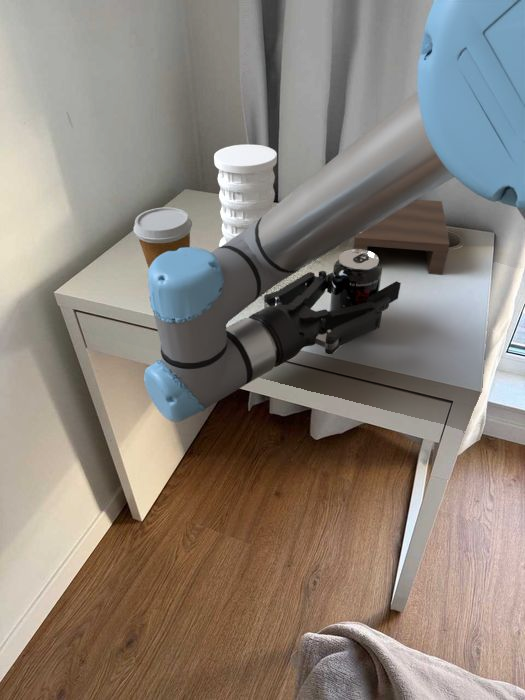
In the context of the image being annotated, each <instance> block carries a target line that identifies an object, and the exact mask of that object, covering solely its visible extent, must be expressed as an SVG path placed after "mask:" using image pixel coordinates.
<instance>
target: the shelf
mask: <svg viewBox="0 0 525 700" xmlns="http://www.w3.org/2000/svg"><path fill="white" fill-rule="evenodd" d="M353 240H354V241H353V248H352V249H362V250H367V251H368V247H373V248H385V249H386V248H387V249H388V248H389V249H399V250H400V249H401V250H412V251H413V250H415V251H425V254H426V263H427V271H428V272H427V273H428V274H429V275H440V276H442V275H443V274H444V269H445V265H446V261H447V258H448V254H449V249H450V244H451V243H450V238H449V234H448V228H447V222H446V217H445V211H444V206H443V201H442V200H427V199H417V200H415V201H413V202H412V203H410V204H408V205H407V206H405V207H403V208H402V209H400V210H398V211H397V212H395V213H393V214H392V215H390V216H388V217H387V218H385V219H383V220H382V221H380V222H378V223H376V224H375V225H373V226H371V227H370V228H368V229H366V230H365V231H363V232H361V233H360V234H358V235H356V236H355V237H354V239H353Z"/></svg>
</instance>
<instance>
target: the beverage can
mask: <svg viewBox="0 0 525 700" xmlns="http://www.w3.org/2000/svg"><path fill="white" fill-rule="evenodd" d="M379 262H380V259H379V256H378V255H377V254H376V253H374V252H372V251H370V250H368V249H367V250H362V249H353V248H352V249H347V250H345V251H342V252H341V253H340V254H339V255H338V259H337V261H335V263H334V264H333V268H332V272H333V278H332V290H331V294H330V304H329V305H330V306H329V311H333V310H337V309H341V308H346V307H350V306H354V305H358V304H363V303H366V300H367V297H369V296H371V295H373V294H375V293H376V292H378V291H380V287H381V280H382V276H383V275H382V273H383V269H382V266H381V265H380V263H379Z"/></svg>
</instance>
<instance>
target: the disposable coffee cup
mask: <svg viewBox="0 0 525 700" xmlns="http://www.w3.org/2000/svg"><path fill="white" fill-rule="evenodd" d="M192 226H193V222H192V220H191V218H190V217H189V215H188V213H187V211H185V210H183V209H180V208H179V207H171V206H170V207H166V206H165V207H164V206H163V207H157V208H155V207H154V208H151V209H148V210H145V211H143V212H141V213H139V214H138V215H137V216H136V217H135V220H134V225H133V233H134V235H135V236H136V237H137V238H138V241H139V244H140V247H141V249H142V253H143V255H144V258H145V262H146V265H147V267H148V269H149V268H150V266H151V264H152V262H153V261H154V260H155V259H156V258H157V257H158V256H160V255H161V254H163V253H165V252H167V251H176V250H178V249H179V248H185V247H191V230H192Z"/></svg>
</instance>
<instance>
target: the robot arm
mask: <svg viewBox="0 0 525 700" xmlns="http://www.w3.org/2000/svg"><path fill="white" fill-rule="evenodd" d="M416 74H417V75H416V80H417V81H416V85H417V87H416V91H414V92H413V93H412V94H411V95H409V96H408V97H407V98H405V100H403V101H402V102H401V103H399V104H398V105H397V106H396V107H394V108H393V109H392V110H391V111H389V113H387V114H386V115H385V116H384V117H382V118H381V119H380V120H379V121H378V122H376V123H375V124H373V126H371V127H370V128H369V129H368V130H366V131H365V132H364V133H363V134H361V135H360V136H359V137H358V138H357V139H355V140H354V141H353V142H351V143H350V144H349V145H348V146H347V147H346V148H344V149H343V150H342V151H340V152H339V153H338V154H337V155H336V156H334V157H333V158H332V159H331V160H330V161H328V162H327V163H326V164H325V165H323V166H322V167H321V168H319V169H318V170H317V171H316V172H314V173H313V174H312V175H311V176H310V177H309V178H307V179H306V180H305V181H304V182H302V183H301V184H300V185H298V187H296V188H294V190H293V191H292V192H291V193H289V194H288V195H287V196H285V197H284V198H283V199H282V200H281V201H279V202H278V203H277V204H276V205H274V207H273V208H272V209H271V210H270V211H268V212H267V213H266V214H265V215H263V216H262V217H261V218H259V219H258V220H257V221H255V222H254V223H253V224H252V225H251V226H249V227H248V228H247V229H246V230H244V231H243V232H242V233H240V234H239V235H237V236H236V237H234V238H233V239H231V240H230V241H228V242H227V243H225V244H224V245H222V246H221V247H216V248H215V249H213V250H211V251H209V250H207V249H204V248H199V247H193V246H192V247H191V246H190V247H185V248H179V249H178V250H176V251H167V252H165V253H163V254H161V255H160V256H158V257H157V258H156V259H155V260H154V261H153V262H152V264H151V266H150V268H149V267H148V273H147V279H148V291H149V292H148V293H149V303H150V308H151V311H152V313H153V317H154V321H155V324H156V329H157V333H158V338H159V341H160V355H161V359H160V360H159V359H158V360H155V362H154V363H153V364H150V365H149V366H148V367H147V368H145V371H144V376H143V382H144V386H145V389H146V391H147V394H148V395H149V398H150V400H151V401H152V403H153V405H154V406H155V408H156V410H158V412H159V413H160V414H161V416H162V417H163V418H165V419H166V420H167V421H170V422H173V423H179V422H183V421H185V420H187V419H189V418H191V417H192V416H195V415H197V414H199V413H200V412H205V411H206V409H208V408H209V407H211V406H212V405H214V404H216V403H218V402H219V401H221V400H223V399H224V398H226V397H228V396H229V395H232V394H233V393H235V392H237V391H238V390H239V389H241V388H243V387H245V386H246V385H248V384H249V383H251V382H254V381H255V380H257V379H258V378H260V377H262V376H263V375H265V374H267V373H269V372H270V371H272V370H273V369H274V368H276V367H279V366H281V365H283V364H285V363H286V362H288V361H289V360H291V359H293V358H295V357H296V356H297V355H298V354H299V353H300V352H301V350H303V349H304V348H306V347H312V346H314V345H318V346H320V347H322V348H324V353H325V354H327V355H333V354H334V353H336V351H337V350H339V348H341V347H342V346H345V345H346V344H348V343H350V342H353V341H354V340H357V339H359V338H361V337H363V336H365V335H368V334H369V333H372V332H374V331H376V330H378V329H379V328H381V322H382V316H383V312H384V311H386V310H387V309H389V307H390V304H391V303H393V302H395V301H397V300H398V299H399V294H400V289H401V282H399V281H398V280H397V281H394V282H392V283H390V284H389V285H387V286H385V287H384V288H381V289H379V291H378V292H376V293H375V294H373V295H371V296H369V297H367V300H366V303H363V304H358V305H354V306H350V307H346V308H341V309H337V310H333V311H330V310H327V309H324V308H323V309H319V310H316V311H315V310H313V309H312V308H313V307H314V306H315V304H316V303H317V302H318V301H319V300H320V298H322V296H323V295H324V294H325V293H326V292H327V293H328V294H330V295H331V290H332V278H333V271H332V272H330V273H328V274H327V271H325V270H320V271H318V276H316V274H315V273H314V272H311V271H310V272H307V273H305V274H303V275H301V276H300V277H298V278H297V279H295V280H294V281H292V282H290V283H288V284H286V285H285V286H283V287H282V288H279V290H277V291H274V292H271V293H267V292H268V291H269V290H270V289H272V288H273V287H275V286H276V285H279V283H281V282H282V281H284V280H286V279H287V278H289V277H291V276H292V275H294V274H296V273H297V272H299V271H300V270H301V269H303V268H304V267H306V266H307V265H309V264H311V263H313V262H315V261H317V260H318V259H319V258H322V257H324V256H325V255H327V254H328V253H329V252H332V251H333V250H335V249H337V248H338V247H339V246H341V245H343V244H344V243H346V242H348V241H351V239H353V238H355V236H356V235H358V234H360V233H361V232H363V231H365V230H366V229H368V228H370V227H371V226H373V225H375V224H376V223H378V222H380V221H382V220H383V219H385V218H387V217H388V216H390V215H392V214H393V213H395V212H397V211H398V210H400V209H402V208H403V207H405V206H407V205H408V204H410V203H412V202H413V201H415V200H419V199H420V198H422V197H424V196H425V195H426V194H428V193H430V192H432V191H434V190H435V189H437V188H439V187H440V186H442V185H443V184H445V183H446V182H447V183H448V181H450V180H452V179H454V178H455V179H456V180H457V181H458V182H460V183H461V184H462V185H463V186H464V187H466V188H467V189H468V190H470V191H471V192H472V193H474V194H476V195H477V196H480V197H481V198H483V199H485V200H488V201H490V202H493V203H496V202H499V203H501V204H503V205H506V206H507V205H508V206H511V207H514V208H516V209H517V210H518V212H519V213H520V215H521V217H522V218H523V219H524V220H525V0H433V2H432V5H431V8H430V11H429V13H428V16H427V18H426V22H425V24H424V32H423V35H422V39H421V44H420V51H419V58H418V62H417V71H416ZM265 293H266V294H265ZM264 294H265V295H264ZM262 296H263V304H264V305H263V309H261V310H259V311H257V312H254V313H253V314H251V315H249V316H248V317H244V318H242V319H240V320H238V321H236V322H234V323H232V324H230V325H228V326H227V324H228V323H229V322H230V321H231V320H232V319H234V318H235V317H237V316H238V315H239V314H240V313H242V312H243V311H244V310H245V309H246V308H248V307H249V306H250V305H252V304H253V303H254V302H256V301H257V300H258V299H259V298H260V297H262Z"/></svg>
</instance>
